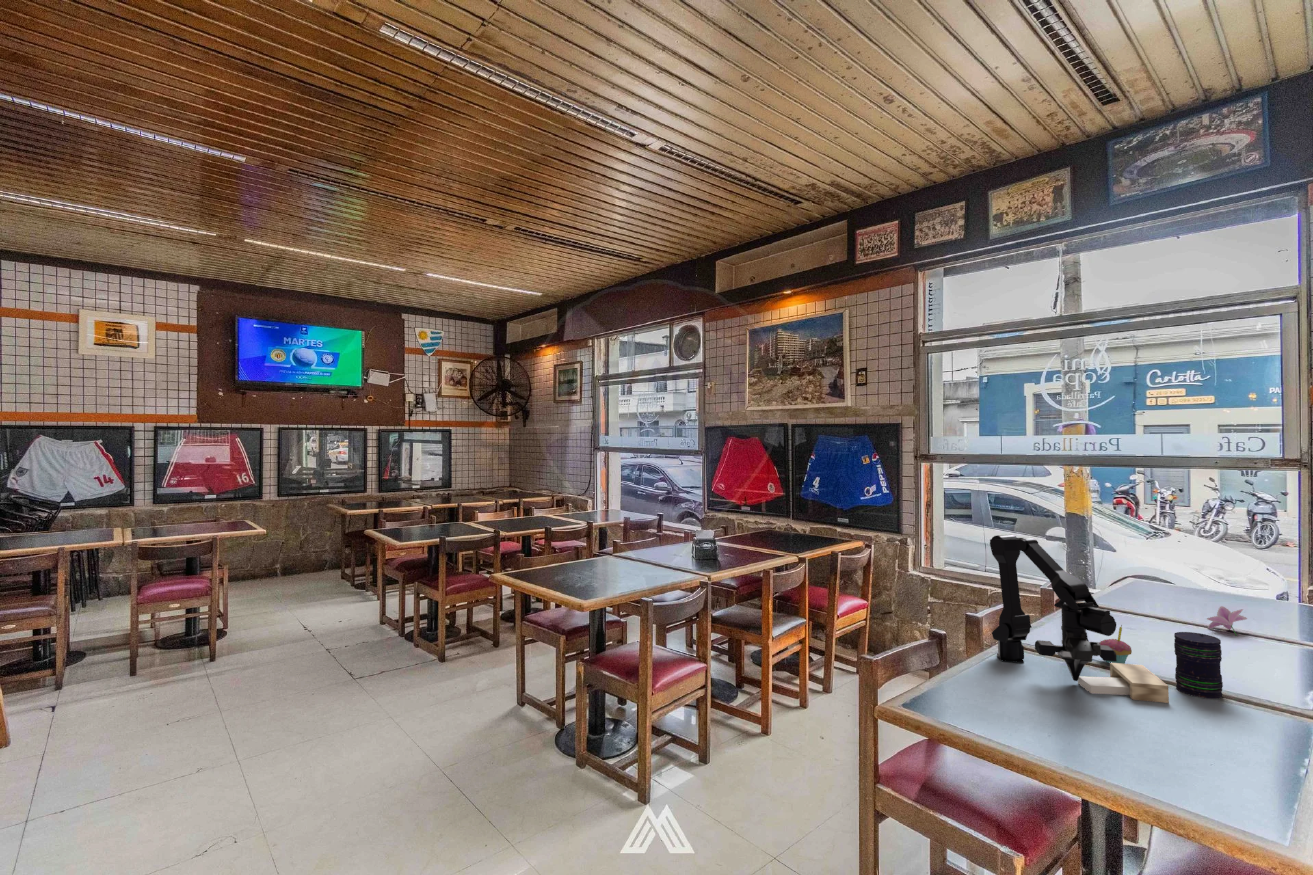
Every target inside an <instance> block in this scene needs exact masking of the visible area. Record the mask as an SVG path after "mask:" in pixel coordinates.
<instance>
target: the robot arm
mask: <svg viewBox="0 0 1313 875" xmlns="http://www.w3.org/2000/svg"><path fill="white" fill-rule="evenodd" d="M989 546H990V550H991V551H990V552H991V554H992V557H993V558H994V559H995V560H996V561H997V563H998V570H999V580H1000V581H999V582H1000V589H1001V598H1002V607H1003V608H1002V610H1001V613H1000V615H999V618H998V626H997V627H996V628H995V629H994V630H993V631H992V632H991V635H992V637H993V638H992V639H994V640H996V641H997V653H996V655H997V657H998V658H999V660H1000V661H1001V662H1009V663H1022V664H1024V660H1025V649H1024V648H1025V647H1024V645H1023V643H1022V641H1026V640H1027V637H1028V635H1029V634H1030V633H1031V629H1032V628H1033V627H1032V625H1031V616H1030V614H1026V613H1025V612H1024V611H1023V609H1022V606H1021V604H1022V603H1021V595H1020V589H1019V588H1020V587H1019V579H1018V578H1019V577H1018V569H1017V561H1018V560H1019V558H1020V556H1021V552H1022V553H1023V554H1025V555H1026V557H1028V559H1029V560H1030V561H1031V563H1033V564H1034V565H1035V567H1037V569H1038V570H1039V571H1040V572H1041V573H1042V574H1043V575H1044V576H1045V577H1046V578H1047V579H1048V580H1049V582H1050V585H1051V589H1052V591H1053V592H1054V594H1055V595H1056V596H1057V598H1058V599H1059V600H1058V601H1057V602H1056V603H1054V604H1053V605H1054V606H1053V607H1055V608H1059V609H1061V625H1060V630H1061V638H1062V639H1061V645H1055V644H1053V643H1052V641H1051V640H1041V639H1038V640H1036V641H1035V642H1034V650H1035V651H1036V652H1037V654H1038V655H1040V656H1044V657H1053V656H1055V655H1058V656H1059V658H1061V660H1063V661H1064V662H1065V664H1066V665H1067V668H1068V671H1069V673H1070V675H1071V677H1072V680H1073V681H1074V682H1078V678H1079V676H1081V673H1082V671H1083V669H1084V667H1085V666H1086V664H1088V663H1092V662H1093V657H1098V656H1099V657H1100V659H1102V660H1103V661H1105V662H1106V661H1117V659H1116V652H1115V651H1113V650H1112V649H1111V648H1110V647H1109V646H1107V645H1100V644H1099V642H1100V641H1089V639H1088V632H1087V631H1089V632H1092V633H1096V634H1099V635H1102V636H1106V637H1110V636H1112V635H1114V633H1115V632H1116V630H1117V622H1116V619H1115V618H1114V616H1113V615H1112V614H1111V611H1110V610H1109V609H1105V608H1104V609H1101V608H1100V606H1099V604H1098V603H1097V601H1096V600H1095V598H1094V596H1093V595H1092V593H1091V592H1090V589H1089V586H1088V585H1087V584H1086V583H1085V582H1084V581H1082V580H1081V579H1079V577H1077V576H1074V575H1073V574H1070V573H1069V572H1067V571H1066V570H1064V569H1063V567H1061V565H1060V564H1058V562H1057V561H1055V559H1054V558H1053V557H1052V556H1051V555H1050V554H1049V553H1048V552H1047V551H1046V550H1045V549H1044V548H1043V547H1042V546H1041V545H1040V543H1039V541H1038V540H1037V539H1035V538H1033V537H1017V535H1014V534H1001V535H994V536H992V538H990V540H989ZM1056 653H1057V654H1056Z"/></svg>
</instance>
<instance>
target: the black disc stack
mask: <svg viewBox="0 0 1313 875" xmlns="http://www.w3.org/2000/svg"><path fill="white" fill-rule="evenodd" d="M1173 636H1174V643H1173V646H1174V655H1175V661H1176V662H1175V663H1176V664H1175V674H1174V677H1175V678H1174V679H1175V683H1176V685H1175V689H1176V690H1177V691H1179V692H1180V693H1182V694H1185V695H1188V696H1191V695H1192V697H1196V698H1201V699H1206V700H1208V699H1209V700H1218V699H1222V698H1223V697H1222V695H1223V687H1224V683H1223V676H1222V673H1221V662H1222V655H1223V654H1222V646H1221V644H1222V642H1221V641H1222V640H1221V639H1220V638H1218V637H1215V636H1213V635H1209V634H1205V633H1204V634H1203V633H1199V632H1189V631H1178V632H1174V635H1173ZM1223 696H1224V695H1223Z"/></svg>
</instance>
